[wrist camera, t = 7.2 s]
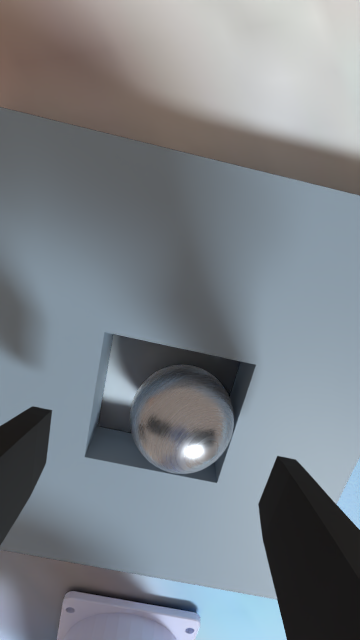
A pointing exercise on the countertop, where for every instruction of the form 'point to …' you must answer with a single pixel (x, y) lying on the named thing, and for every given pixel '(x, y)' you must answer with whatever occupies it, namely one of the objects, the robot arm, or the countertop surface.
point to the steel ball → (181, 419)
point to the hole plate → (171, 341)
